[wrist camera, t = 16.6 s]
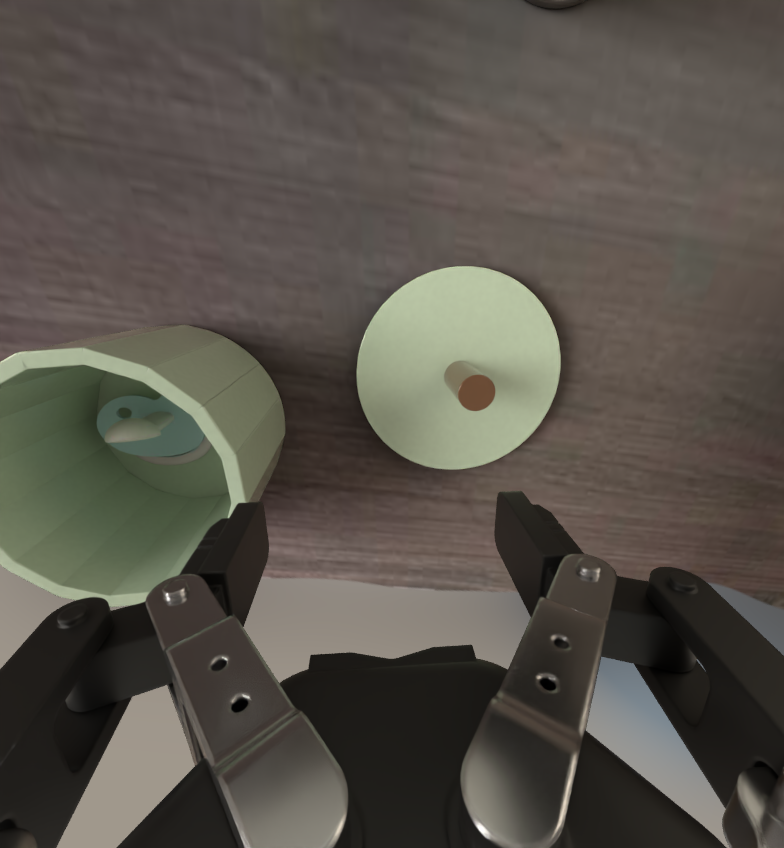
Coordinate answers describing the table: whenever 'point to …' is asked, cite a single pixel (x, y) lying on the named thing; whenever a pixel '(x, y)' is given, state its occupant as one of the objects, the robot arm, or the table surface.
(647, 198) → the table surface
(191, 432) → the pacifier
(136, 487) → the crock
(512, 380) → the lid
